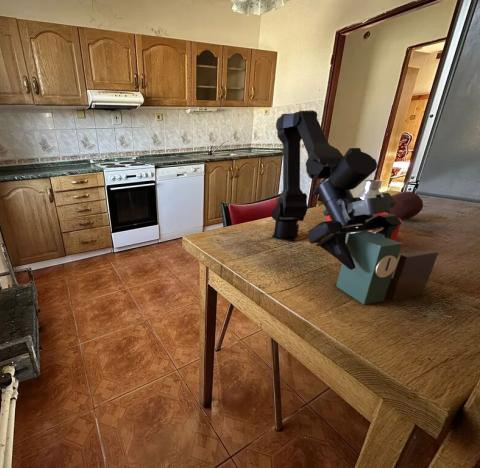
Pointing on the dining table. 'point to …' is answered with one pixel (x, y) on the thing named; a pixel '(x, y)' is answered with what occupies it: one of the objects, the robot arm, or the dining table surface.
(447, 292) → the dining table surface
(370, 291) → the clock
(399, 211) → the potato
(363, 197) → the silver metal bottle
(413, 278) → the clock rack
